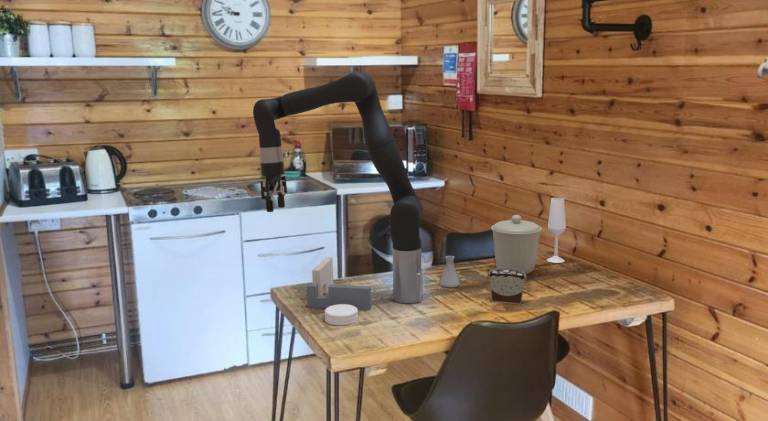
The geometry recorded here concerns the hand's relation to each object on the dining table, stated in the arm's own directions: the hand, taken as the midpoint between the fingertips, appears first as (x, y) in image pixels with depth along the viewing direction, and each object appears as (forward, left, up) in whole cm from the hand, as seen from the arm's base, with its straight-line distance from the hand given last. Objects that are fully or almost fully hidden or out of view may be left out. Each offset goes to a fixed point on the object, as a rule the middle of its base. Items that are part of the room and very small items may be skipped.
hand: (276, 209), depth 233 cm
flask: (-56, -15, -29) cm, 65 cm away
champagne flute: (-93, -51, -29) cm, 110 cm away
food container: (-76, -2, -29) cm, 81 cm away
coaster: (-27, +23, -29) cm, 46 cm away
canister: (-78, -34, -29) cm, 90 cm away
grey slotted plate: (-24, +13, -28) cm, 39 cm away
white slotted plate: (-15, -1, -28) cm, 32 cm away
